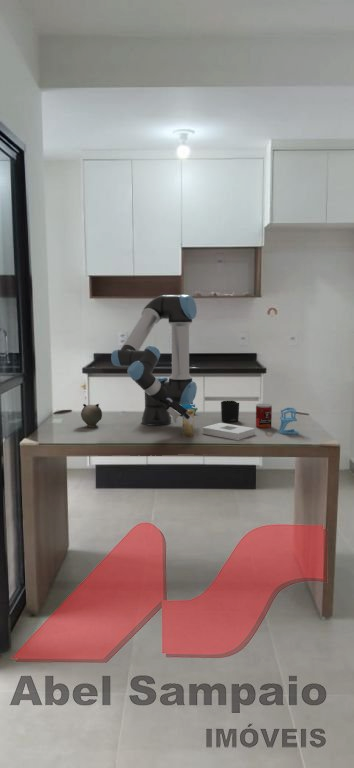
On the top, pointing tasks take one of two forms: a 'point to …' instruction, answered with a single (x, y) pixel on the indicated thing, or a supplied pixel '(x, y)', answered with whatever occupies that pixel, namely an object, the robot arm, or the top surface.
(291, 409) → the chair
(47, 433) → the top surface
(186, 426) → the brass ball knob
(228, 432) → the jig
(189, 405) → the gear
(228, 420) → the pen holder
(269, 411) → the canned food
